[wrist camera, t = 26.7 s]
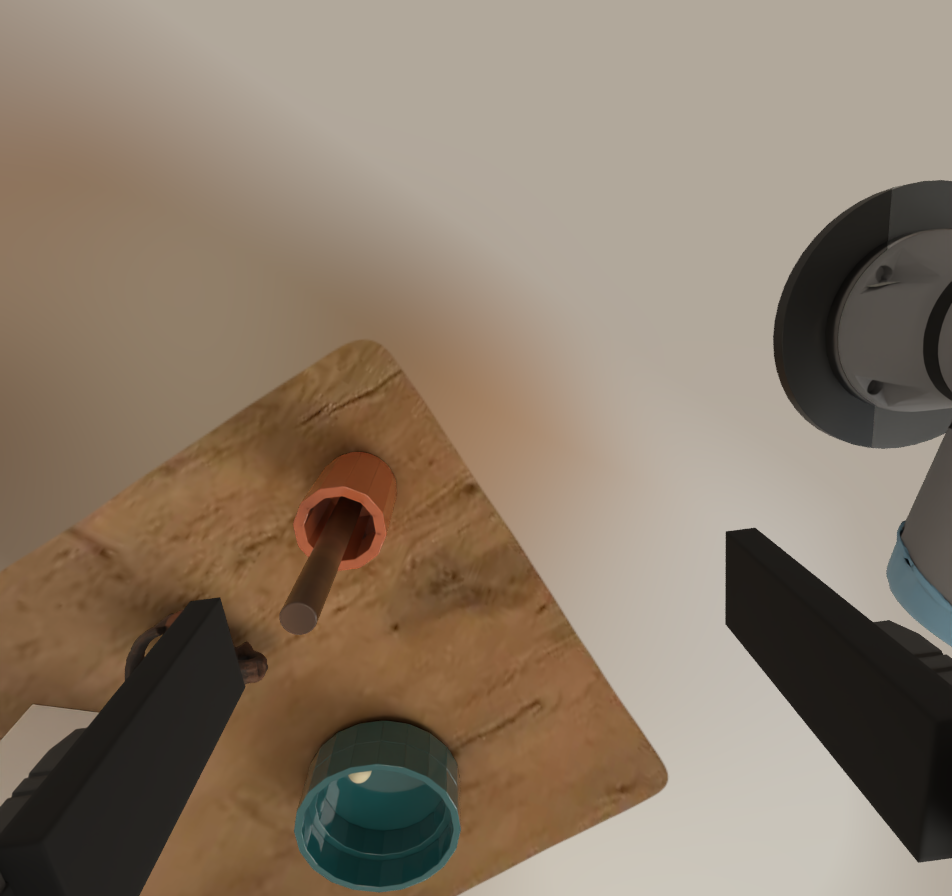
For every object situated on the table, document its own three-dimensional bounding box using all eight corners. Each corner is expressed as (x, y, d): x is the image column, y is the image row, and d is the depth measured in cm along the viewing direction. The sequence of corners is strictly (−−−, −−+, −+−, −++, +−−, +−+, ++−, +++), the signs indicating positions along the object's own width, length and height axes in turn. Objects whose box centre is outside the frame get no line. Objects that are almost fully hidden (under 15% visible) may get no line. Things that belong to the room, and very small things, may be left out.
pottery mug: (190, 703, 56) (116, 732, 48) (187, 605, 58) (115, 617, 50) (295, 698, 53) (233, 728, 45) (289, 594, 55) (228, 606, 47)
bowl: (448, 707, 57) (448, 754, 51) (467, 824, 61) (469, 880, 56) (296, 727, 57) (278, 777, 51) (325, 843, 61) (313, 901, 56)
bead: (368, 747, 57) (375, 770, 55) (368, 759, 59) (374, 782, 57) (344, 756, 56) (350, 779, 55) (344, 768, 58) (351, 791, 56)
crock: (390, 446, 49) (377, 481, 41) (401, 516, 51) (392, 564, 43) (314, 456, 49) (285, 493, 41) (329, 526, 51) (304, 575, 42)
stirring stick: (366, 477, 49) (312, 600, 30) (370, 498, 50) (320, 632, 31) (343, 480, 49) (275, 605, 30) (347, 501, 50) (283, 637, 31)
